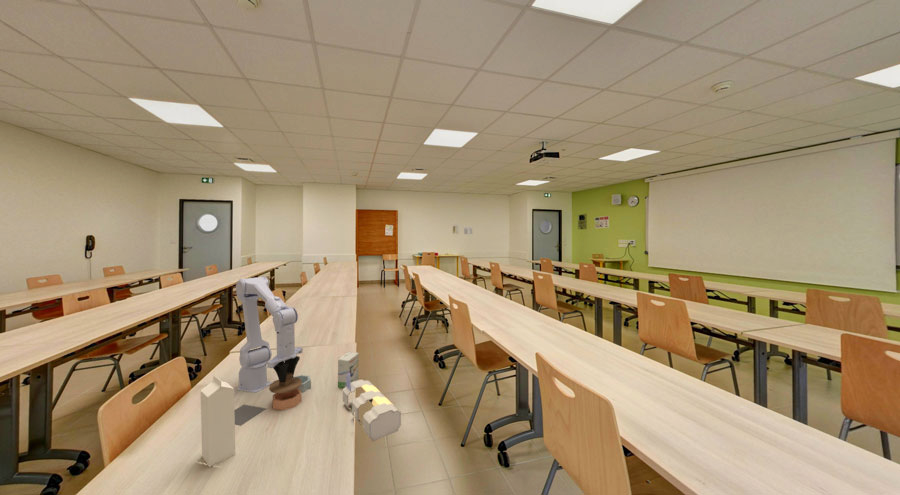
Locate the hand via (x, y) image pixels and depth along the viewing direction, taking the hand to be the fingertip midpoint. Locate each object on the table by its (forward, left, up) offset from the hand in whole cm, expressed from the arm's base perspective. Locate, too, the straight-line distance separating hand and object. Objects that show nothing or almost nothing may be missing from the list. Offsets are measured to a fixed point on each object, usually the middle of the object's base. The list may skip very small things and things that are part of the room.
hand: (286, 379), depth 111 cm
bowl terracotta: (0, 0, -9) cm, 9 cm away
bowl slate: (-4, +10, -9) cm, 14 cm away
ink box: (+13, +19, -9) cm, 25 cm away
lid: (0, 0, -2) cm, 2 cm away
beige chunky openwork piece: (+33, 0, -10) cm, 34 cm away
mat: (-9, -10, -9) cm, 16 cm away
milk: (+2, -27, -9) cm, 28 cm away
